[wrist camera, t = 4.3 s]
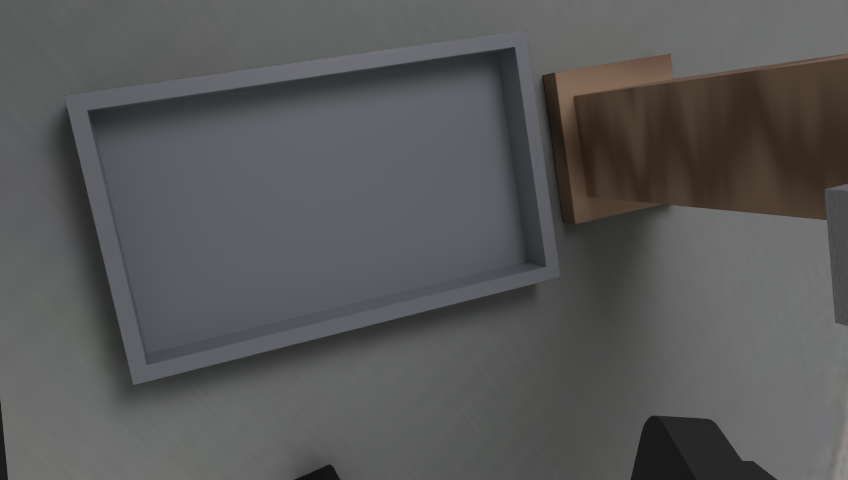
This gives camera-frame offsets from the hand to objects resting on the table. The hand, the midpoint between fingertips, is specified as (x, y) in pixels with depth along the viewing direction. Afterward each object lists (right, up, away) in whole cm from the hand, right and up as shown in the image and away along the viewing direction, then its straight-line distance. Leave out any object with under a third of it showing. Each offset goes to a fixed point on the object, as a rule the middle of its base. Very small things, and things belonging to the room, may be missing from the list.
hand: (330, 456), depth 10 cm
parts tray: (-4, +5, +33) cm, 34 cm away
